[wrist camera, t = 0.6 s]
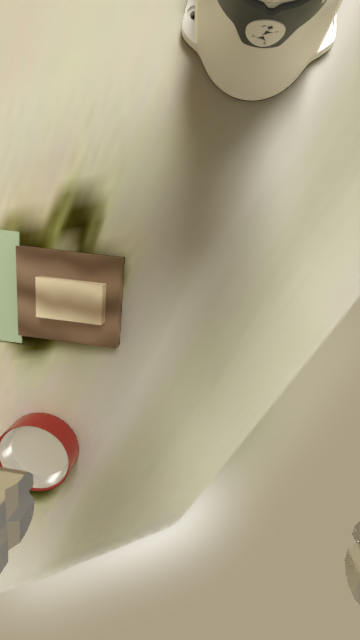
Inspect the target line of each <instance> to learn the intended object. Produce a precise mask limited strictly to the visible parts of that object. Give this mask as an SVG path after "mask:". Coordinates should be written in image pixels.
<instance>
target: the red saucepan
mask: <svg viewBox="0 0 360 640" xmlns="http://www.w3.org/2000/svg"><path fill="white" fill-rule="evenodd" d="M78 451H79V446H78V441H77V438H76V435H75V434H74V432H73V430H72V429H71V428H70V427H69V425H68V424H66V423H65V422H64V421H63V420H61V419H59V418H58V417H56V416H53V415H50V414H46V413H32V414H28V415H25V416H23V417H22V418H20V419H19V420H17V421H16V422H15V423H14V424H13V425H12V426H11V427H10V428H9V429H8V430H7V431H6V432H5V433H4V434H3V435H2V436H1V437H0V467H5V468H10V469H16V470H21V471H27V472H30V473H32V474H33V483H34V485H33V487H32V488H31V489H30V490H33V491H46V490H50V489H53V488H55V487H57V486H59V485H60V484H61V483H62V482H63V481H64V480H65V478H66V477H67V475H68V473H69V472H70V470H71V468H72V467H73V465H74V463H75V462H76V460H77V457H78Z"/></svg>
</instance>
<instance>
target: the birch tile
mask: <svg viewBox="0 0 360 640" xmlns="http://www.w3.org/2000/svg"><path fill="white" fill-rule="evenodd" d="M35 286H36V317H41V318H48V319H56V320H64V321H72V322H80V323H87V324H95V325H102V324H103V323H104V322H105V307H106V286H107V284H106V283H97V282H89V281H81V280H72V279H64V278H56V277H48V276H38V277H35Z"/></svg>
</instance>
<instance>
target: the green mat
mask: <svg viewBox="0 0 360 640" xmlns="http://www.w3.org/2000/svg"><path fill="white" fill-rule="evenodd" d="M16 246H20V232H16V231H7V230H0V340H1V341H9V342H16V343H23V336H20V335H18V311H17V277H16Z"/></svg>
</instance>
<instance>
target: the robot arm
mask: <svg viewBox="0 0 360 640" xmlns="http://www.w3.org/2000/svg"><path fill="white" fill-rule="evenodd" d="M341 2H342V0H188V1H187V5H186V9H185V13H184V17H183V21H182V31H181V32H182V36H183V38H184V40H185V41H186V42H187V43H188V44H189V45H190V46H191V47H192V48H193V49H194V50H195V51H196V52H197V53H198V54H199V56H200V58H201V60H202V63H203V65H204V67H205V69H206V71H207V73H208V75H209V77H210V78H211V79H212V81H213V82H214V83H215V84H216V85H217V86H218V87H219V88H220V89H221V90H222V91H224V92H225V93H227V94H228V95H230V96H233V97H235V98H238V99H242V100H262V99H266V98H269V97H272V96H274V95H276V94H278V93H280V92H281V91H283V90H284V89H286V88H287V87H288V86H290V85H291V84H292V83H293V82H294V81H295V80H296V79H297V78H298V76H299V75H300V74H301V73H302V71H303V70H304V69H305V67H306V66H307V65H308V64H309V63H310V62H311V61H313V60H315V59H316V58H318V57H320V56H321V55H323V54H324V53H326V52H327V51H328V50H329V49H330V48H331V47H332V45H333V43H334V41H335V39H336V34H337V11H338V9H339V7H340V4H341ZM193 15H195V19H194V20H193V19H191V17H192V16H193ZM33 485H34V483H33V474H32V473H30V472H27V471H21V470H16V469H10V468H5V467H0V573H1V572H2V570H3V569H4V567H5V565H6V564H7V562H8V550H9V549H11V548H12V547H14V546H15V545H17V544H18V543H20V541H21V540H22V538H23V536H24V535H25V533H26V531H27V529H28V527H29V524H30V522H31V519H32V515H33V510H34V499H33V497H32V496H31V495H30V493H29V491H30V489H31V488H32V487H33ZM352 535H353V537H354V539H355V541H356V543H355V544H353V545H352V546H351V547H349V548H348V549H347V553H346V557H345V571H346V577H347V581H348V585H349V587H350V590H351V592H352V595H353V597H354V599H356V601H357V602H358V603H359V604H360V522H359V523H358V524H356V525H355V527H354V530H353V533H352Z"/></svg>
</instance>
